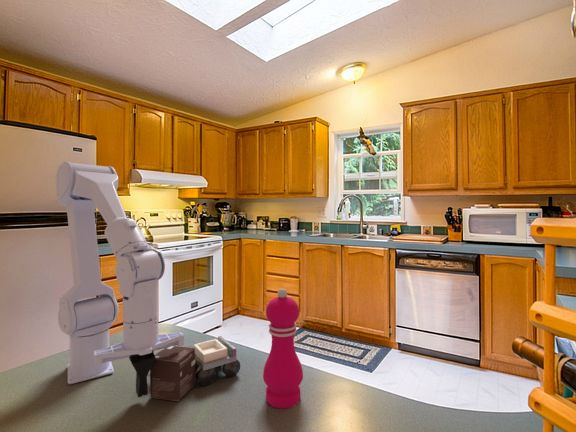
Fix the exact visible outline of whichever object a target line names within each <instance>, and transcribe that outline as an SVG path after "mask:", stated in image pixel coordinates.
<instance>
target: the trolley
mask: <svg viewBox="0 0 576 432" xmlns="http://www.w3.org/2000/svg"><path fill="white" fill-rule="evenodd" d="M217 340H218V341H219V342H220V343H222V344H223V345H224V346H225V347H226V348H227V356H226V357H223V358H219V359H216V360H212V361H209V362H205V363H204V362H203V361H202V360H201V359H200V358H199V357H198V356H197V355H196V354H195V378H196V381H197V382H198V384H199V385H201V386H202V387H207V386H209V385H211V384H212V383H213V382H214V381H215V379H216V376H217V372H216V369H215V368H216V367H219V366H220V369H221V372H222V373H223V374H224V375H225V376H226V377H228V378H234V377H235V376H237V374H239V372H240V369H241V362H240V361H239V360H238V359H237V348H236V347H235V346H234V345H233V344H231V343H230V342H229V341H228V340H227V339H225V338H224V337H223V336H222V335H219V336H217Z"/></svg>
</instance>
